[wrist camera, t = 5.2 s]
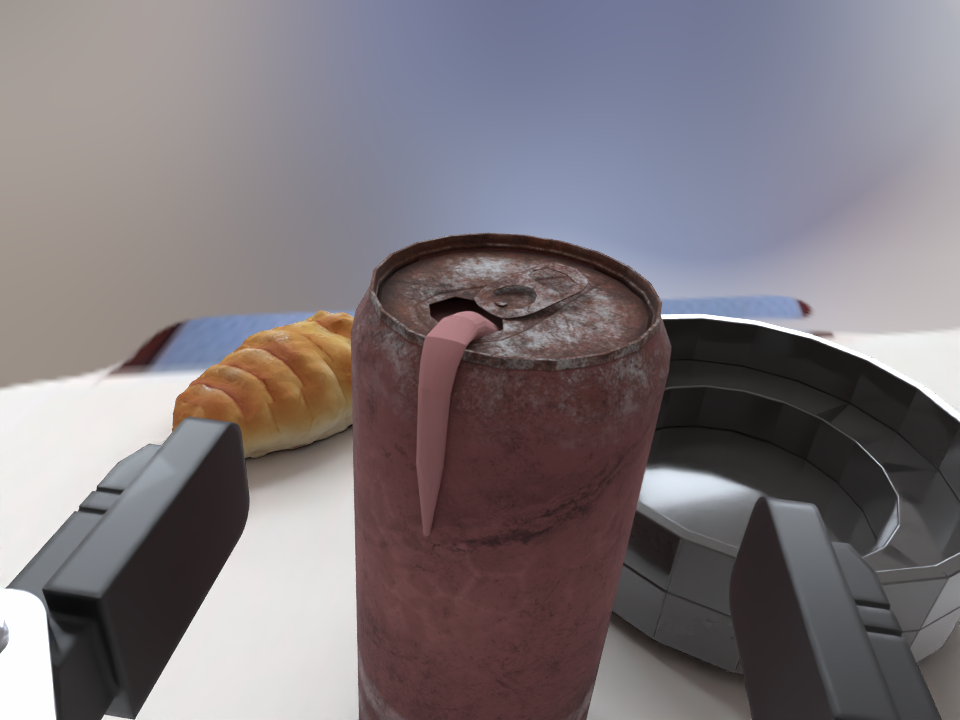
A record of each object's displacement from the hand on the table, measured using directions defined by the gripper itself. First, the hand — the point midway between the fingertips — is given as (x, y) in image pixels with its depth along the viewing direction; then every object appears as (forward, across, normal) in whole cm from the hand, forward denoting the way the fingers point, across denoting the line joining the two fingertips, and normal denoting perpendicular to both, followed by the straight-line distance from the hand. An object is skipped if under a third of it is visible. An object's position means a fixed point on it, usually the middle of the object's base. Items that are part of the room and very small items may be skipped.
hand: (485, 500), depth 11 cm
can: (+4, 0, +12) cm, 13 cm away
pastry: (+18, +10, +12) cm, 24 cm away
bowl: (+15, -9, +12) cm, 21 cm away
